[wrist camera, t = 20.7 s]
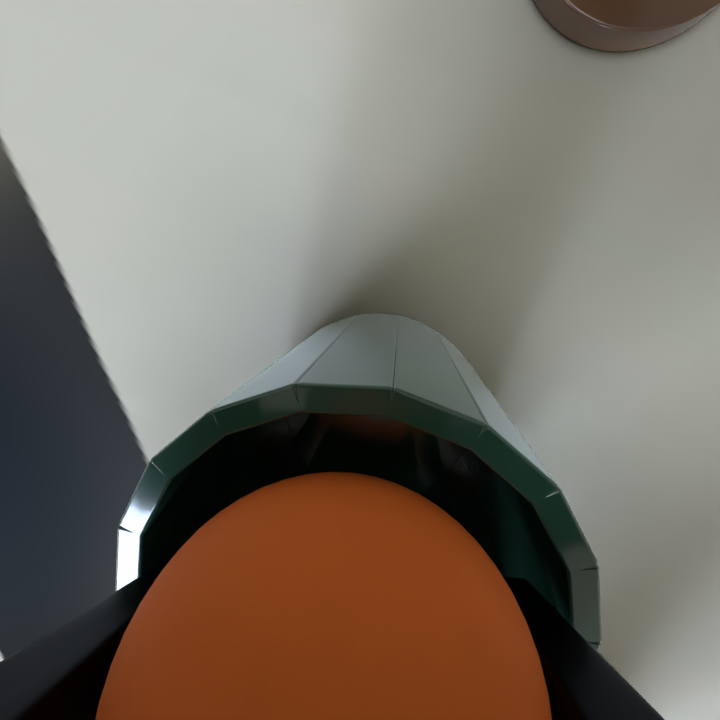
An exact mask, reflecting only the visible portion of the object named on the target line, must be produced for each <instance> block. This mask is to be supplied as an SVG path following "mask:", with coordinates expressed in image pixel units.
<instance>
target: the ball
mask: <svg viewBox="0 0 720 720" xmlns="http://www.w3.org/2000/svg"><path fill="white" fill-rule="evenodd" d="M95 720H552V714H551V708H550V701H549V694H548V690H547V686H546V682H545V678H544V674H543V670H542V666H541V662H540V658H539V655H538V652H537V649H536V647H535V644H534V641H533V638H532V635H531V633H530V630H529V627H528V624H527V622H526V620H525V618H524V616H523V613H522V611H521V609H520V607H519V605H518V603H517V601H516V599H515V597H514V595H513V593H512V591H511V589H510V588H509V586H508V584H507V583H506V581H505V580H504V578H503V576H502V575H501V573H500V571H499V570H498V568H497V567H496V565H495V564H494V562H493V561H492V560H491V559H490V557H489V556H488V555H487V553H486V552H485V551H484V550H483V548H482V547H481V546H480V544H479V543H478V542H477V541H476V540H475V539H474V538H473V537H472V536H471V535H470V534H469V533H468V532H467V531H466V530H465V528H464V527H463V526H462V525H461V524H460V523H459V522H457V521H456V520H455V519H454V518H453V517H451V516H450V515H449V514H448V513H446V512H445V511H444V510H443V509H441V508H440V507H439V506H437V505H436V504H434V503H433V502H431V501H430V500H428V499H426V498H425V497H423V496H422V495H420V494H418V493H416V492H414V491H412V490H410V489H408V488H406V487H404V486H401V485H399V484H397V483H394V482H391V481H388V480H385V479H382V478H378V477H375V476H370V475H364V474H358V473H352V472H321V473H310V474H305V475H301V476H296V477H292V478H287V479H284V480H281V481H279V482H276V483H273V484H270V485H268V486H265V487H262V488H260V489H258V490H256V491H254V492H252V493H250V494H248V495H246V496H244V497H242V498H240V499H239V500H237V501H235V502H234V503H232V504H231V505H229V506H228V507H226V508H225V509H223V510H222V511H220V512H219V513H218V514H216V515H215V516H214V517H213V518H212V519H210V520H209V521H208V522H207V523H206V524H204V525H203V526H202V527H201V528H199V529H198V530H197V531H196V532H195V533H194V534H193V536H192V537H191V538H190V539H189V540H188V541H187V542H186V543H185V544H184V545H183V546H182V547H181V548H180V549H179V550H178V551H177V553H176V554H175V555H174V556H173V558H172V559H171V560H170V561H169V563H168V564H167V565H166V566H165V567H164V569H163V570H162V571H161V573H160V574H159V575H158V577H157V578H156V580H155V581H154V583H153V584H152V586H151V587H150V589H149V590H148V592H147V593H146V595H145V596H144V598H143V600H142V601H141V603H140V604H139V606H138V608H137V610H136V612H135V614H134V616H133V618H132V619H131V621H130V623H129V625H128V627H127V629H126V631H125V633H124V635H123V637H122V640H121V642H120V645H119V647H118V649H117V652H116V654H115V656H114V659H113V661H112V664H111V666H110V669H109V672H108V676H107V679H106V682H105V685H104V688H103V691H102V694H101V698H100V701H99V705H98V709H97V714H96V719H95Z"/></svg>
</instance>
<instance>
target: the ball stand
mask: <svg viewBox="0 0 720 720" xmlns="http://www.w3.org/2000/svg"><path fill="white" fill-rule="evenodd" d="M534 2H535V3H536V5H537V6H538V8H539V10H540V11H541V13H542V14H543V16H544V17H545V18H546V19H547V20H548V21H549V22H550V24H551V25H552V26H553V27H555V28H556V29H557V30H558V31H559V32H560V33H562V34H563V35H564V36H566V37H568V38H569V39H571V40H573V41H574V42H577V43H579V44H581V45H584V46H586V47H590V48H594V49H598V50H603V51H616V52H617V51H632V50H637V49H642V48H647V47H650V46H653V45H656V44H659V43H662V42H665V41H667V40H669V39H671V38H673V37H675V36H677V35H679V34H681V33H682V32H684V31H686V30H687V29H689V28H690V27H692V26H694V25H695V24H696V23H697V22H699V21H700V20H701V19H703V18H704V17H705V16H706V15H708V14H709V13H710V12H711V11H712V10H714V9H715V8H716V7H717V6H718V5H720V0H534Z"/></svg>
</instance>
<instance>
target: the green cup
mask: <svg viewBox="0 0 720 720" xmlns="http://www.w3.org/2000/svg"><path fill="white" fill-rule="evenodd" d="M321 472H352V473H358V474H364V475H370V476H375V477H378V478H382V479H385V480H388V481H391V482H394V483H397V484H399V485H401V486H404V487H406V488H408V489H410V490H412V491H414V492H416V493H418V494H420V495H422V496H423V497H425V498H426V499H428V500H430V501H431V502H433V503H434V504H436V505H437V506H439V507H440V508H441V509H443V510H444V511H445V512H446V513H448V514H449V515H450V516H451V517H453V518H454V519H455V520H456V521H457V522H459V523H460V524H461V525H462V526H463V527H464V528H465V530H466V531H467V532H468V533H469V534H470V535H471V536H472V537H473V538H474V539H475V540H476V541H477V542H478V543H479V544H480V546H481V547H482V548H483V550H484V551H485V552H486V553H487V555H488V556H489V557H490V559H491V560H492V561H493V562H494V564H495V565H496V567H497V568H498V570H499V571H500V573H501V575H502V576H503V578H504V577H515V578H523V579H526V580H527V581H528V582H529V583H530V584H531V585H532V586H533V587H534V588H535V589H536V590H537V591H538V592H539V593H540V594H541V595H542V596H543V597H544V598H545V599H546V600H547V601H548V602H549V603H550V604H551V605H552V606H553V607H554V608H555V609H556V610H557V611H558V612H559V613H560V614H561V615H562V616H563V617H564V618H565V619H566V620H567V621H568V622H569V623H570V624H571V625H572V626H573V627H574V628H575V629H576V630H577V631H578V632H579V633H580V634H581V635H582V636H583V637H584V638H585V639H586V640H587V642H588V643H589V644H590V645H591V646H592V647H593V648H594V649H595V650H596V651H597V652H598V650H599V648H600V641H601V616H600V590H599V567H598V565H597V560H596V558H595V556H594V554H593V552H592V550H591V548H590V546H589V544H588V542H587V540H586V538H585V536H584V534H583V532H582V530H581V528H580V526H579V524H578V522H577V520H576V518H575V516H574V514H573V512H572V510H571V508H570V506H569V504H568V502H567V500H566V498H565V496H564V494H563V492H562V490H561V489H560V487H559V486H558V485H557V483H556V482H555V480H554V479H553V478H552V476H551V475H550V474H549V472H548V471H547V469H546V468H545V467H544V465H543V464H542V462H541V461H540V460H539V458H538V457H537V456H536V454H535V453H534V451H533V450H532V449H531V447H530V446H529V445H528V443H527V442H526V440H525V439H524V438H523V436H522V435H521V433H520V432H519V431H518V429H517V428H516V427H515V425H514V424H513V422H512V421H511V420H510V418H509V417H508V416H507V414H506V413H505V411H504V410H503V409H502V407H501V406H500V404H499V403H498V402H497V400H496V399H495V398H494V396H493V395H492V393H491V392H490V391H489V389H488V388H487V387H486V385H485V384H484V382H483V381H482V380H481V378H480V377H479V375H478V374H477V373H476V371H475V370H474V369H473V367H472V366H471V364H470V363H469V362H468V360H467V359H466V358H465V356H464V355H463V354H462V353H461V352H460V351H459V350H458V349H457V348H456V347H455V346H454V345H453V344H452V343H451V342H450V341H449V340H448V339H446V338H445V337H444V336H442V335H441V334H440V333H439V332H438V331H436V330H434V329H433V328H430V327H429V326H427V325H425V324H423V323H421V322H418V321H416V320H413V319H410V318H407V317H403V316H399V315H393V314H386V313H369V314H360V315H355V316H351V317H348V318H344V319H341V320H339V321H336V322H334V323H332V324H329V325H326V326H324V327H322V328H321V329H319V330H318V331H317V332H315V333H314V334H313V335H311V336H310V337H309V338H307V339H306V340H304V341H303V342H302V343H300V344H299V345H298V346H296V347H295V348H294V349H292V350H291V351H289V352H288V353H287V354H285V355H284V356H283V357H281V358H280V359H279V360H277V361H276V362H274V363H273V364H272V365H270V366H269V367H268V368H266V369H265V370H264V371H262V372H261V373H259V374H258V375H257V376H255V377H254V378H253V379H251V380H250V381H249V382H247V383H246V384H245V385H243V386H242V387H240V388H239V389H238V390H236V391H235V392H234V393H232V394H231V395H230V396H228V397H227V398H225V399H224V400H223V401H221V402H220V403H219V404H217V405H216V406H215V407H213V408H212V409H210V410H209V411H208V412H207V413H205V414H204V415H203V416H202V417H201V418H199V419H198V420H197V421H196V422H195V423H193V424H192V425H191V426H190V427H189V428H187V429H186V430H185V431H184V432H183V433H181V434H180V435H179V436H178V437H177V438H175V439H174V440H173V441H172V442H171V443H169V444H168V445H167V446H166V447H165V448H163V449H162V450H161V451H160V452H159V453H157V454H156V455H155V456H154V457H153V458H152V459H151V461H150V462H149V463H148V465H147V467H146V469H145V471H144V473H143V475H142V477H141V479H140V481H139V483H138V485H137V487H136V489H135V491H134V494H133V495H132V498H131V500H130V502H129V504H128V506H127V508H126V510H125V512H124V514H123V516H122V518H121V520H120V522H119V527H118V536H117V537H118V538H117V561H116V589H115V591H117V590H119V589H120V588H122V587H124V586H125V585H127V584H128V583H130V582H132V581H133V580H135V579H137V578H138V577H140V576H141V575H143V574H145V573H146V572H148V571H150V570H151V569H153V568H154V567H156V566H158V565H159V564H161V563H163V562H164V561H166V560H168V559H169V558H171V557H172V556H174V555H175V554H176V553H177V551H178V550H179V549H180V548H181V547H182V546H183V545H184V544H185V543H186V542H187V541H188V540H189V539H190V538H191V537H192V536H193V534H194V533H195V532H196V531H197V530H198V529H199V528H201V527H202V526H203V525H204V524H206V523H207V522H208V521H209V520H210V519H212V518H213V517H214V516H215V515H216V514H218V513H219V512H220V511H222V510H223V509H225V508H226V507H228V506H229V505H231V504H232V503H234V502H235V501H237V500H239V499H240V498H242V497H244V496H246V495H248V494H250V493H252V492H254V491H256V490H258V489H260V488H262V487H265V486H268V485H270V484H273V483H276V482H279V481H281V480H284V479H287V478H292V477H296V476H301V475H305V474H310V473H321Z"/></svg>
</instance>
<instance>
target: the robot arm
mask: <svg viewBox="0 0 720 720" xmlns="http://www.w3.org/2000/svg"><path fill="white" fill-rule="evenodd" d="M172 558H173V556H172V557H171V558H169V559H168V560H166V561H164V562H163V563H161V564H159V565H158V566H156V567H154V568H153V569H151V570H150V571H148V572H146V573H145V574H143V575H141V576H140V577H138V578H137V579H135V580H133V581H132V582H130V583H128V584H127V585H125V586H124V587H122V588H120V589H119V590H117V591H115V592H114V593H112V594H111V595H109V596H107V597H106V598H104V599H102V600H101V601H99V602H98V603H96V604H94V605H93V606H91V607H89V608H88V609H86V610H84V611H83V612H81V613H80V614H78V615H76V616H75V617H73V618H71V619H70V620H68V621H67V622H65V623H63V624H62V625H60V626H58V627H57V628H55V629H54V630H52V631H50V632H49V633H47V634H45V635H44V636H42V637H41V638H39V639H37V640H36V641H34V642H32V643H31V644H29V645H28V646H26V647H24V648H23V649H21V650H19V651H18V652H16V653H14V654H13V655H12V656H10V657H8V658H6V659H5V660H3V661H1V662H0V720H95V719H96V714H97V709H98V705H99V701H100V698H101V694H102V691H103V688H104V685H105V682H106V679H107V676H108V672H109V669H110V666H111V664H112V661H113V659H114V656H115V654H116V652H117V649H118V647H119V645H120V642H121V640H122V637H123V635H124V633H125V631H126V629H127V627H128V625H129V623H130V621H131V619H132V618H133V616H134V614H135V612H136V610H137V608H138V606H139V604H140V603H141V601H142V600H143V598H144V596H145V595H146V593H147V592H148V590H149V589H150V587H151V586H152V584H153V583H154V581H155V580H156V578H157V577H158V575H159V574H160V573H161V571H162V570H163V569H164V567H165V566H166V565H167V564H168V563H169V561H170V560H171V559H172ZM504 580H505V581H506V583H507V584H508V586H509V588H510V589H511V591H512V593H513V595H514V597H515V599H516V601H517V603H518V605H519V607H520V609H521V611H522V613H523V616H524V618H525V620H526V622H527V624H528V627H529V630H530V633H531V635H532V638H533V641H534V644H535V647H536V649H537V652H538V655H539V658H540V662H541V666H542V670H543V674H544V678H545V682H546V686H547V690H548V694H549V701H550V708H551V714H552V720H664V719H663V717H662V716H661V715H660V714H659V713H658V712H657V711H656V710H655V709H654V708H653V707H652V706H651V705H650V704H649V703H648V702H647V701H646V700H645V699H644V698H643V697H642V696H641V695H640V694H639V693H638V692H637V691H636V690H635V689H634V688H633V687H632V686H631V685H630V684H629V683H628V682H627V681H626V680H625V679H624V678H623V677H622V676H621V675H620V674H619V673H618V672H617V671H616V670H615V669H614V668H613V667H612V666H611V665H610V664H609V663H608V662H607V661H606V660H605V659H604V658H603V657H602V656H601V655H600V654H599V653H598V652H597V651H596V650H595V649H594V648H593V647H592V646H591V645H590V644H589V643H588V642H587V640H586V639H585V638H584V637H583V636H582V635H581V634H580V633H579V632H578V631H577V630H576V629H575V628H574V627H573V626H572V625H571V624H570V623H569V622H568V621H567V620H566V619H565V618H564V617H563V616H562V615H561V614H560V613H559V612H558V611H557V610H556V609H555V608H554V607H553V606H552V605H551V604H550V603H549V602H548V601H547V600H546V599H545V598H544V597H543V596H542V595H541V594H540V593H539V592H538V591H537V590H536V589H535V588H534V587H533V586H532V585H531V584H530V583H529V582H528V581H527V580H526V579H523V578H515V577H504Z"/></svg>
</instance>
